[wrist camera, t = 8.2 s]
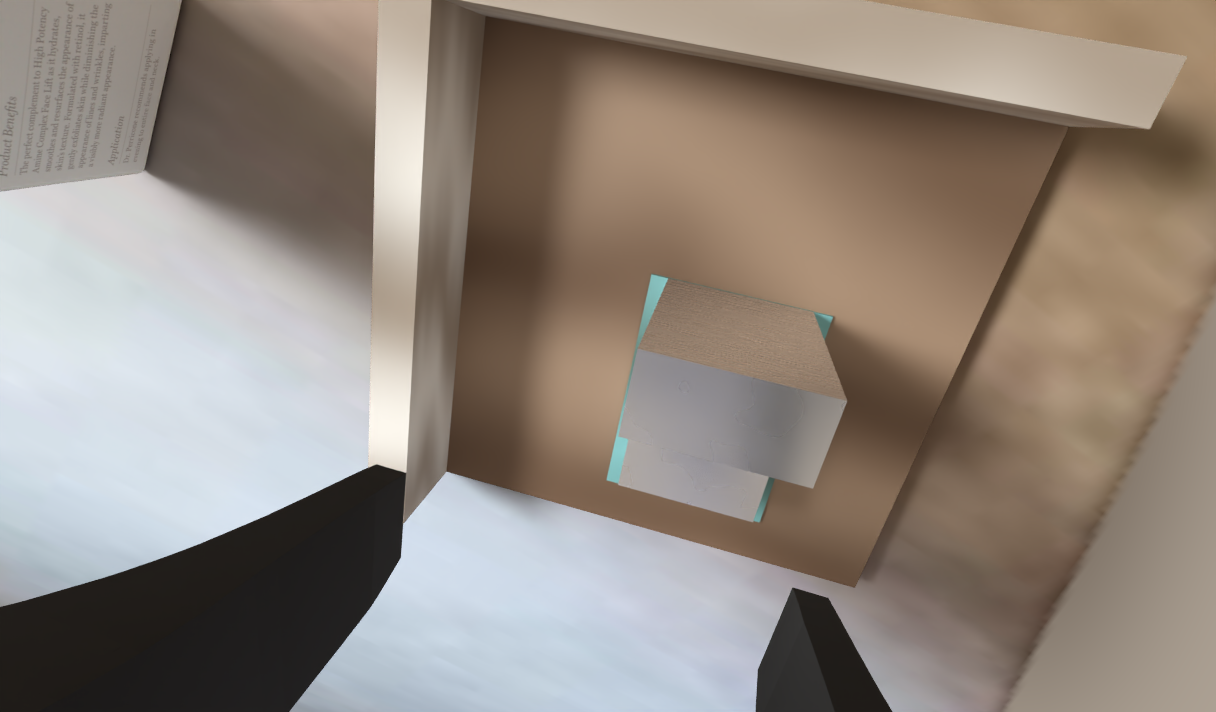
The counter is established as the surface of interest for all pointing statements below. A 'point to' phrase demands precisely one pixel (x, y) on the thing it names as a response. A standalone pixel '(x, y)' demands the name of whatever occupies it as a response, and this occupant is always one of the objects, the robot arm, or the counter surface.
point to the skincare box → (80, 87)
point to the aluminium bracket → (727, 400)
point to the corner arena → (700, 226)
